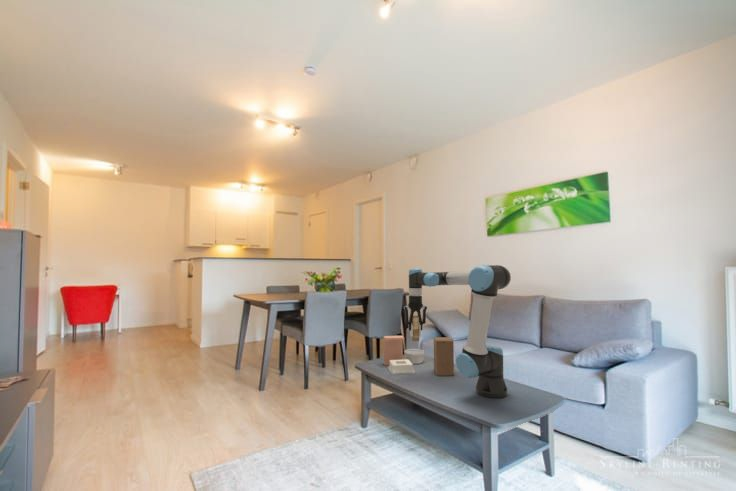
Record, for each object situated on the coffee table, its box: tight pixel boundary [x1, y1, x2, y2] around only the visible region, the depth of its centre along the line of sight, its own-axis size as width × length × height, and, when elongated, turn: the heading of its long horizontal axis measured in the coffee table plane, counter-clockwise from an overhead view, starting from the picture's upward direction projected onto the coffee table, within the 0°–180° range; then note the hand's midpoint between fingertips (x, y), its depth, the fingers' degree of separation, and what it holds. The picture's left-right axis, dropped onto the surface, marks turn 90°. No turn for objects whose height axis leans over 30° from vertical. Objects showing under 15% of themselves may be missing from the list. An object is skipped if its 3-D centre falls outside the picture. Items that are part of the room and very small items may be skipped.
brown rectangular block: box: [383, 335, 405, 366], centre depth 228 cm, size 7×12×18 cm, turn 97°
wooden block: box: [433, 336, 455, 377], centre depth 212 cm, size 10×10×20 cm
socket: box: [387, 358, 416, 376], centre depth 217 cm, size 14×14×5 cm
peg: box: [411, 315, 420, 342], centre depth 207 cm, size 4×4×14 cm
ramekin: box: [403, 348, 425, 365], centre depth 236 cm, size 13×13×7 cm
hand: (415, 336), depth 207 cm, fingers closed on peg, 4 cm apart
